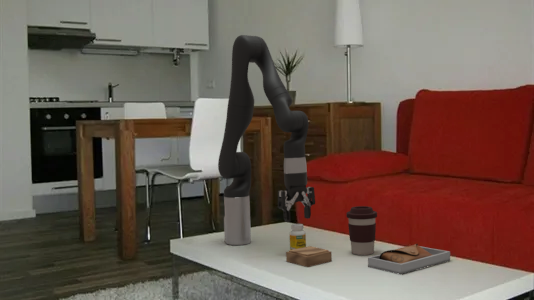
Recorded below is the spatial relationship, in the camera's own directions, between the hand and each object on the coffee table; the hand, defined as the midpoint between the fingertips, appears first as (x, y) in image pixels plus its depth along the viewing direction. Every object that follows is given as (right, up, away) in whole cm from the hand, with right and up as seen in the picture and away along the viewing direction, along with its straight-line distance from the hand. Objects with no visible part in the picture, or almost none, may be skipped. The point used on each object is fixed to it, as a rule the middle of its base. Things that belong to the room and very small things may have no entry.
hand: (297, 220), depth 198 cm
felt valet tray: (+33, -11, -18) cm, 39 cm away
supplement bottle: (0, -11, +1) cm, 11 cm away
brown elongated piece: (+33, -11, -18) cm, 39 cm away
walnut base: (+3, -12, -11) cm, 16 cm away
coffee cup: (+21, -11, -2) cm, 24 cm away
